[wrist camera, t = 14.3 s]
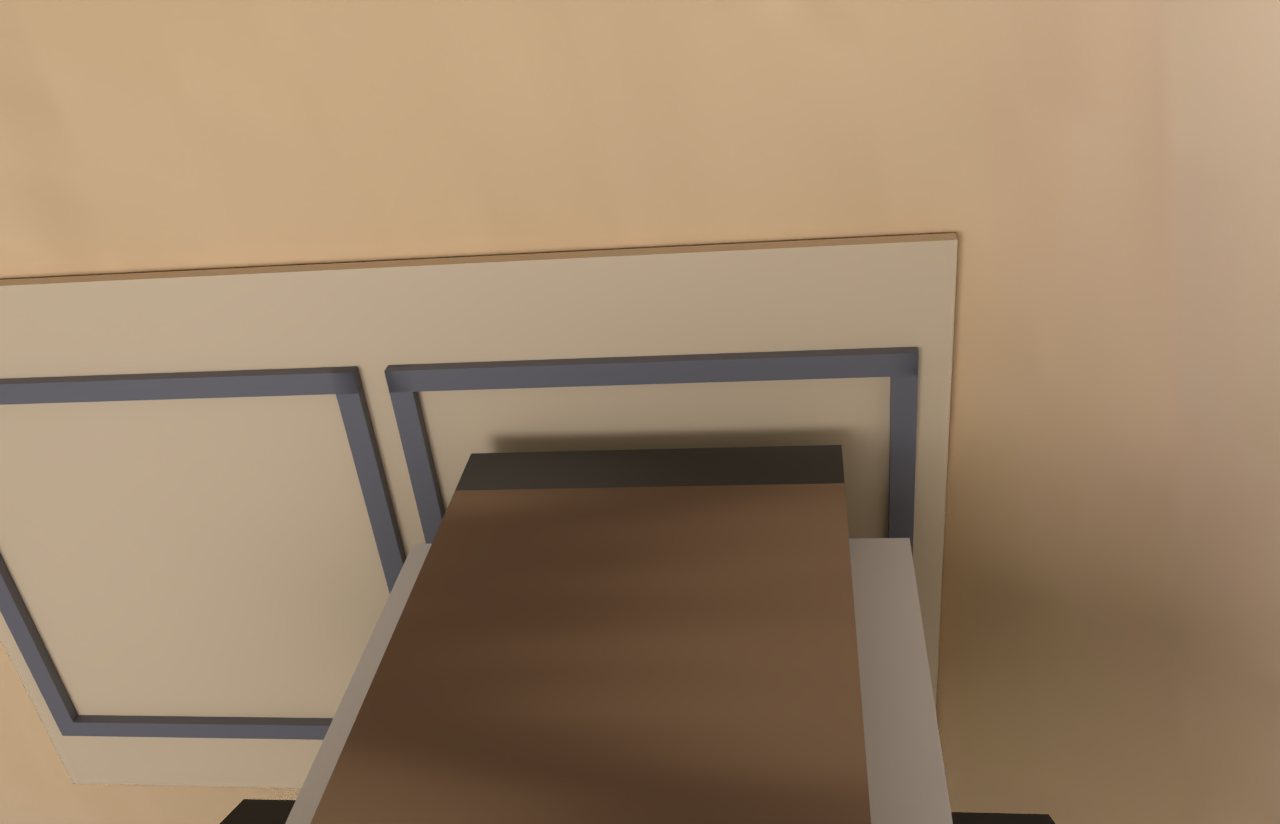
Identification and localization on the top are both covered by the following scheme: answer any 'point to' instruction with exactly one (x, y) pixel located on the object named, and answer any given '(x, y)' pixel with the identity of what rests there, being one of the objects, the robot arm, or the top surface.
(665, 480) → the tall wooden block
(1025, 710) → the top surface
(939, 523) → the sheet
